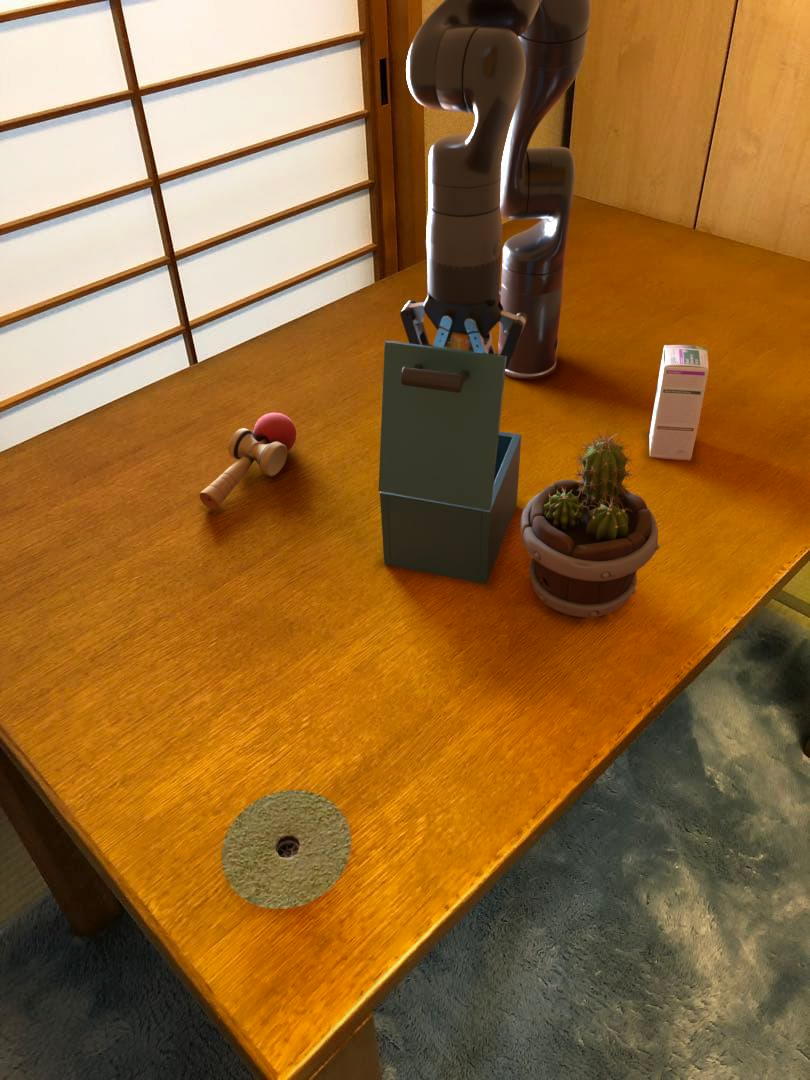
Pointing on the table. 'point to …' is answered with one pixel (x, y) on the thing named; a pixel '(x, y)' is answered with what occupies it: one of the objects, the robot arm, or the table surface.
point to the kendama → (253, 454)
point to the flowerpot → (589, 536)
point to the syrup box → (678, 401)
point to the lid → (440, 423)
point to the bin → (453, 525)
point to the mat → (286, 849)
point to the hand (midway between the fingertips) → (462, 393)
